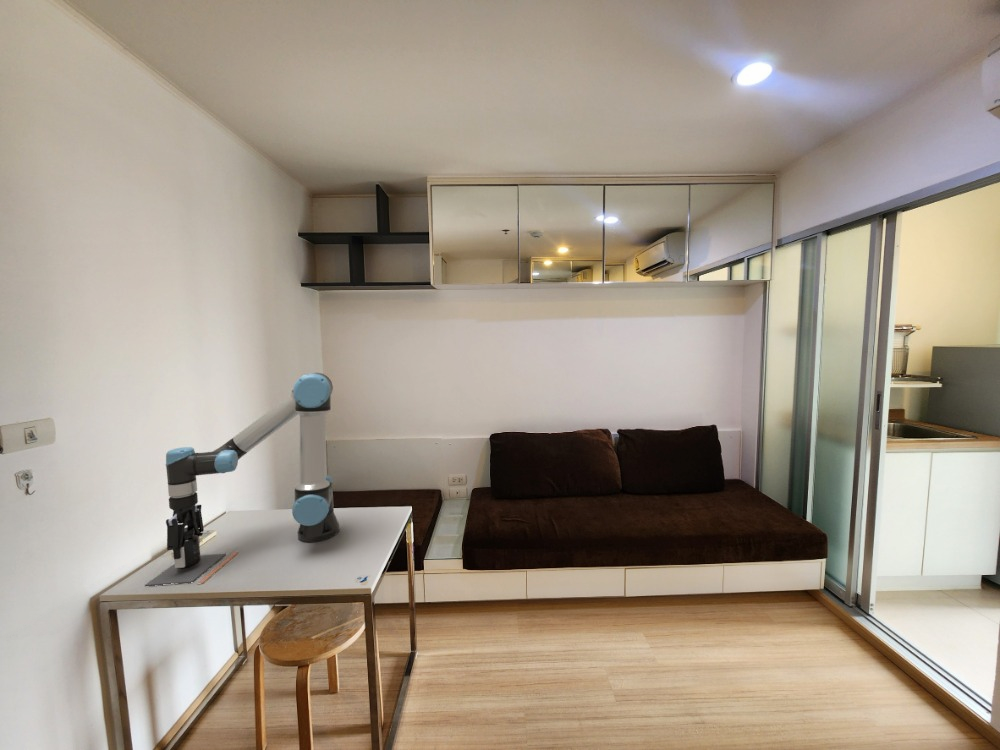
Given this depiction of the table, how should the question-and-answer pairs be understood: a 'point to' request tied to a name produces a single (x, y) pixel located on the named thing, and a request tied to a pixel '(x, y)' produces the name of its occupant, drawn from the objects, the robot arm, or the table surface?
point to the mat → (186, 571)
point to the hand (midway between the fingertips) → (188, 561)
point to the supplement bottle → (191, 547)
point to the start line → (218, 567)
